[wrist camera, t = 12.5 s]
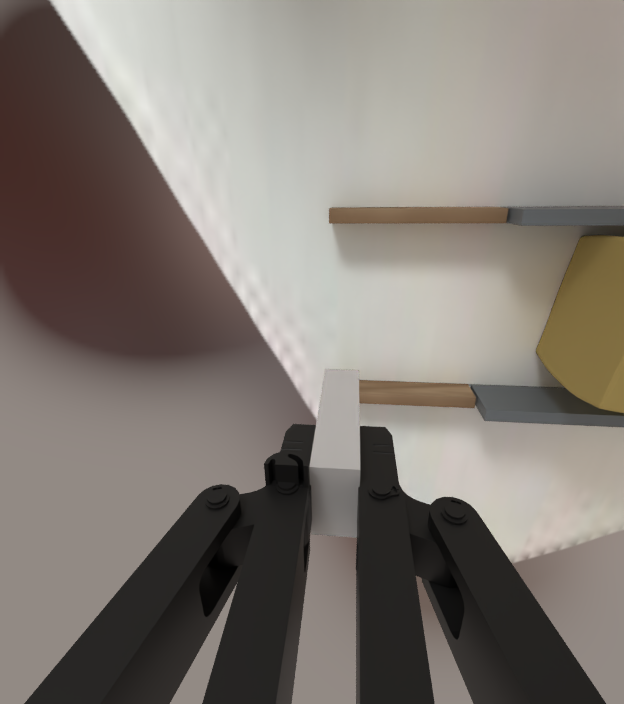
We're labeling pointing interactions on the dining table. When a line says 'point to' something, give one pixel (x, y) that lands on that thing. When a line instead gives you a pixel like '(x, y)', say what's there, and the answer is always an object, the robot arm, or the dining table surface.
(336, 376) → the robot arm
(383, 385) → the lane rails
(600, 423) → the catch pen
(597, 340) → the cheese
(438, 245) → the dining table surface
